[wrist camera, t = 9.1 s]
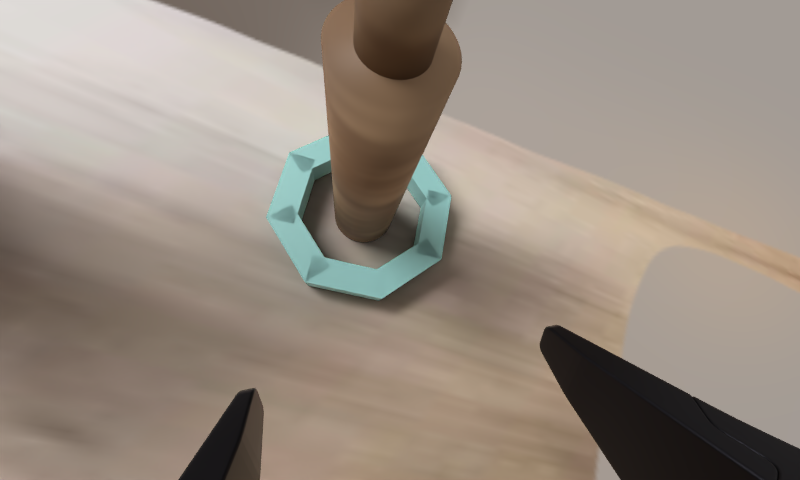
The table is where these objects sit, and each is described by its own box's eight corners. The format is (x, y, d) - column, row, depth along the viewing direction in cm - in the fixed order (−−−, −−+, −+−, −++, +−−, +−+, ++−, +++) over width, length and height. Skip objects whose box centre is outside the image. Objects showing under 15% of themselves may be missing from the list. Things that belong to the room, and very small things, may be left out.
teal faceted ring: (449, 167, 21) (457, 155, 19) (426, 311, 18) (433, 310, 16) (306, 127, 20) (303, 112, 18) (255, 274, 17) (247, 269, 15)
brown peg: (400, 206, 19) (524, -52, 6) (374, 252, 18) (458, 58, 5) (353, 180, 19) (373, -142, 6) (324, 224, 18) (269, -51, 5)
